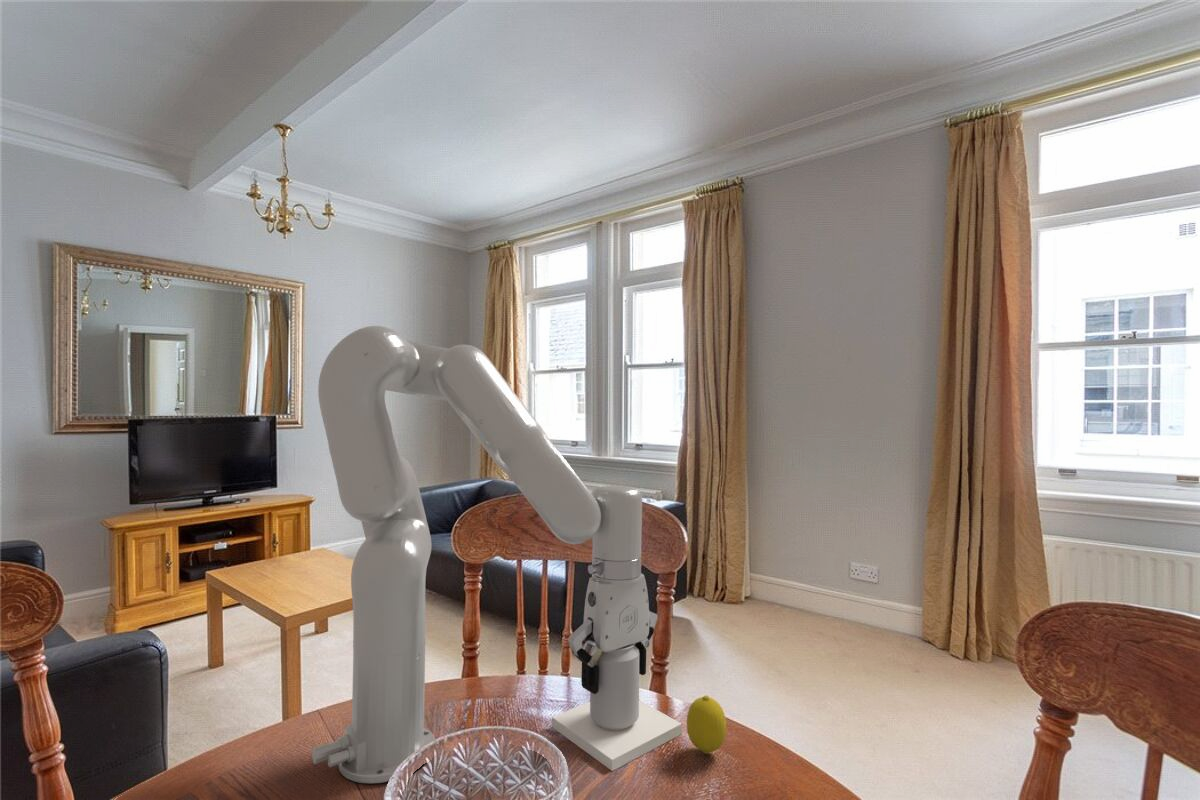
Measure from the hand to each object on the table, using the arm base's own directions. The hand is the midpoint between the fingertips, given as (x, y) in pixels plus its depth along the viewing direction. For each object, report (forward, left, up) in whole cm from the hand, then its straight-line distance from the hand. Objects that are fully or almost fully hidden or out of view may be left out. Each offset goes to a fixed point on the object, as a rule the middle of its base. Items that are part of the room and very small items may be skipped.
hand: (614, 680), depth 85 cm
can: (0, 0, -6) cm, 6 cm away
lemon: (+6, -13, -8) cm, 16 cm away
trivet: (0, 0, -8) cm, 8 cm away
